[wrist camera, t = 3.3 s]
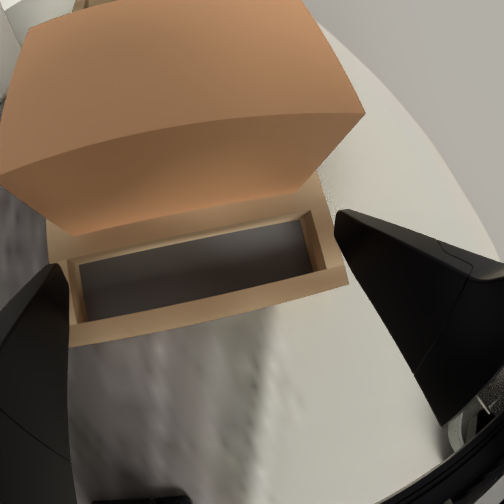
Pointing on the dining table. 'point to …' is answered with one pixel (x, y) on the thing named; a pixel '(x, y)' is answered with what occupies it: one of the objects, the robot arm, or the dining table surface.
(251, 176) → the block
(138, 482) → the dining table surface
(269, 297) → the box
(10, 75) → the alcohol
